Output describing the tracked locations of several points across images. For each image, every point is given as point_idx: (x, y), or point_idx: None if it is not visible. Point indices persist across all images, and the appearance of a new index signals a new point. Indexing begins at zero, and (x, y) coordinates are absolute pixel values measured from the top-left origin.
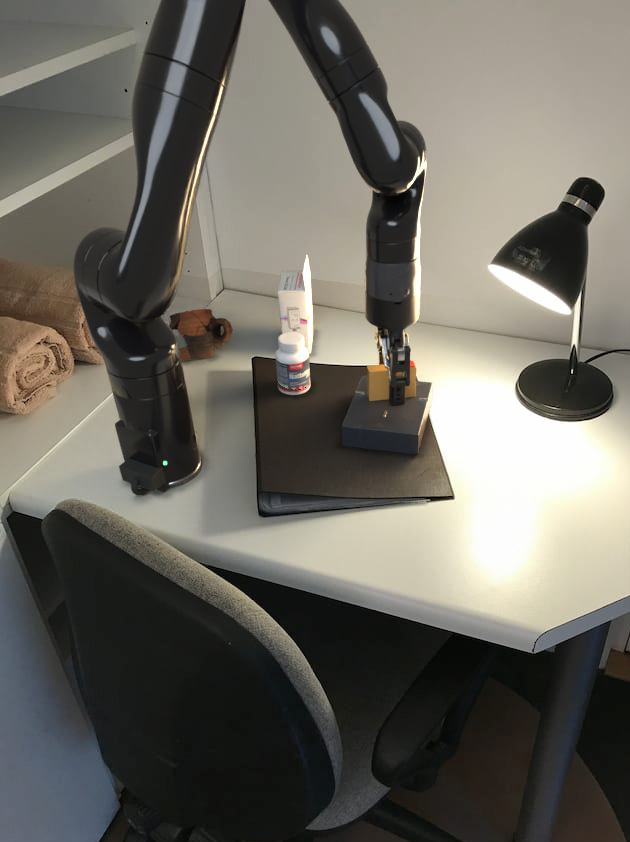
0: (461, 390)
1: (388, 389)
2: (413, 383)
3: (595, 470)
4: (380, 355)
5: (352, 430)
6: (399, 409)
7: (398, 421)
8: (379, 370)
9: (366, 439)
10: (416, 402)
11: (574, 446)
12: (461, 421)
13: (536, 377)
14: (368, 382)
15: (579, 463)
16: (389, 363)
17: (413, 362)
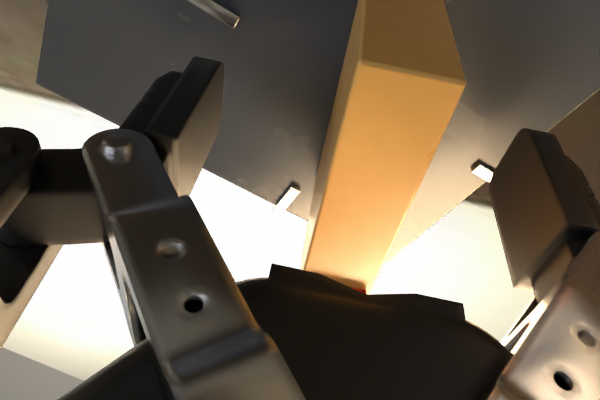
0: (402, 282)
1: (336, 106)
2: (308, 222)
3: (38, 320)
4: (562, 219)
5: None
6: (242, 88)
7: (141, 44)
8: (345, 141)
9: None
10: (274, 168)
11: (114, 331)
12: (252, 222)
13: None
14: (384, 16)
15: (58, 314)
16: (116, 255)
17: None
